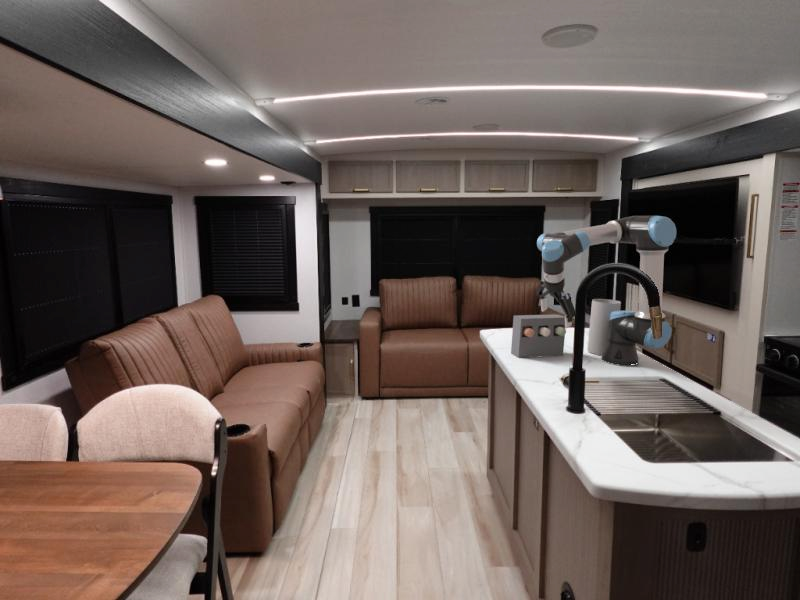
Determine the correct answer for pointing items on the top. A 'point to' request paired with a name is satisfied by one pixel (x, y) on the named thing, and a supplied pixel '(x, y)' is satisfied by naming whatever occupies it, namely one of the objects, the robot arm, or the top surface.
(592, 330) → the cylinder vase
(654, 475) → the top surface
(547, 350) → the console
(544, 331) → the cream button
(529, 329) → the terracotta button
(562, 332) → the sage button
